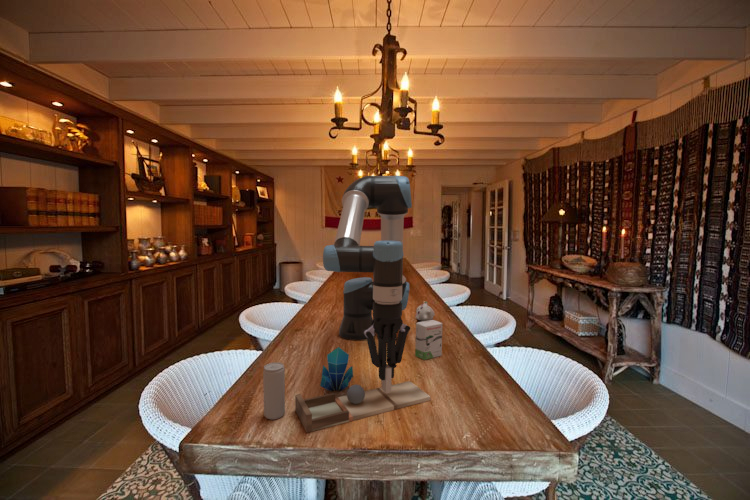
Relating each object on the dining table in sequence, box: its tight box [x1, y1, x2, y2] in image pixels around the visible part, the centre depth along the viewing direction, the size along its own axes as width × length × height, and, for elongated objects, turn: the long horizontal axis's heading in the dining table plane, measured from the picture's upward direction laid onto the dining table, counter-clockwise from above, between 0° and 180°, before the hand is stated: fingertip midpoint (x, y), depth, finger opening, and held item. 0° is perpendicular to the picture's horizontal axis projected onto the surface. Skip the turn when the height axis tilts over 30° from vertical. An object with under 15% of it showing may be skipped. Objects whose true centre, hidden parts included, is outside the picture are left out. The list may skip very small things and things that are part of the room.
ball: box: [347, 384, 366, 404], centre depth 87 cm, size 4×4×4 cm
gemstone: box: [319, 346, 354, 398], centre depth 94 cm, size 7×9×12 cm
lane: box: [294, 380, 432, 434], centre depth 88 cm, size 10×33×4 cm, turn 117°
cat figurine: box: [414, 300, 435, 322], centre depth 166 cm, size 10×8×15 cm
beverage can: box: [262, 362, 286, 421], centre depth 83 cm, size 5×5×12 cm
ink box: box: [414, 319, 443, 361], centre depth 122 cm, size 9×5×12 cm, turn 123°
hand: (386, 390), depth 91 cm, fingers closed
